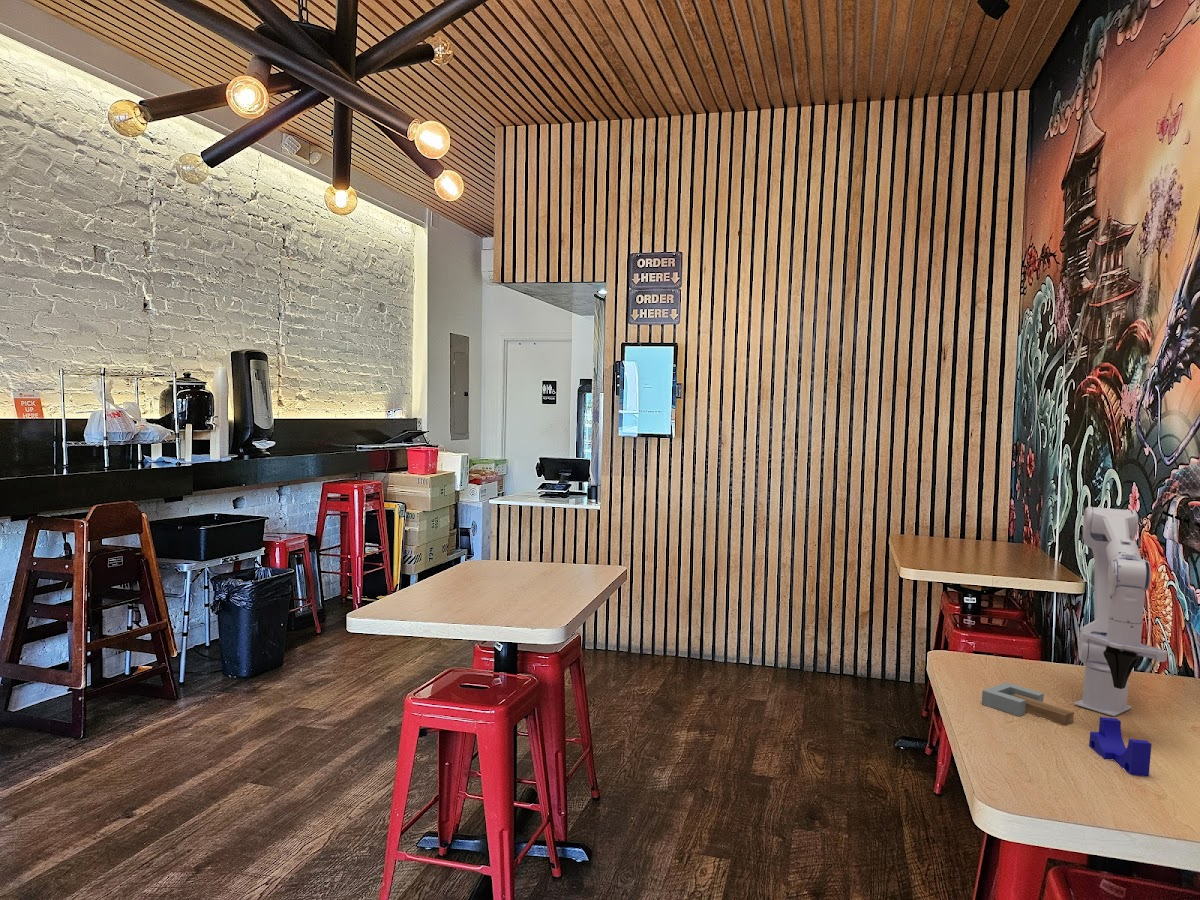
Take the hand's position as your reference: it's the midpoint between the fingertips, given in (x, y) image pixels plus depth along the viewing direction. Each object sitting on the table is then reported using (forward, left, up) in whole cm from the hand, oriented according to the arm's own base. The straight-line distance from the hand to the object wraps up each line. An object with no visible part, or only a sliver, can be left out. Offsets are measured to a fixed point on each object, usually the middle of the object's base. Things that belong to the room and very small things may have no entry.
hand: (1119, 687), depth 161 cm
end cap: (+3, -19, -9) cm, 21 cm away
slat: (+3, -14, -10) cm, 17 cm away
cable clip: (+14, +6, -10) cm, 18 cm away
